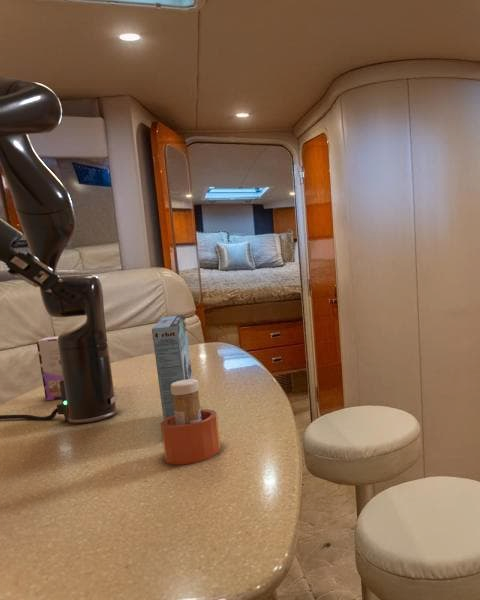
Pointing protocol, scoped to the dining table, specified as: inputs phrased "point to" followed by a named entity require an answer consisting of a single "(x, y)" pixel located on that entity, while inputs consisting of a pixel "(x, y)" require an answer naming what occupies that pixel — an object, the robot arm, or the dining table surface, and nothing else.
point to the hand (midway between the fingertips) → (78, 300)
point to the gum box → (171, 357)
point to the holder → (191, 439)
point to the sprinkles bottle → (186, 401)
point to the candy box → (50, 366)
